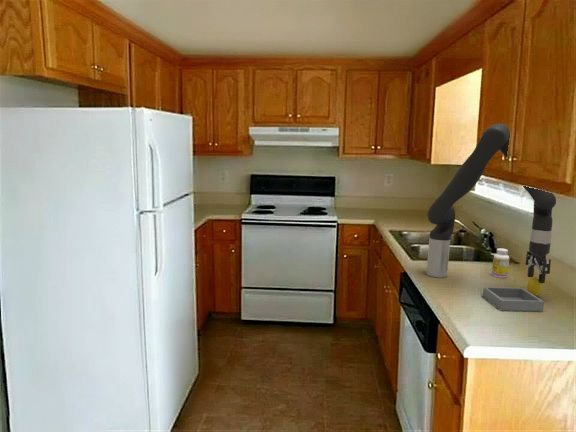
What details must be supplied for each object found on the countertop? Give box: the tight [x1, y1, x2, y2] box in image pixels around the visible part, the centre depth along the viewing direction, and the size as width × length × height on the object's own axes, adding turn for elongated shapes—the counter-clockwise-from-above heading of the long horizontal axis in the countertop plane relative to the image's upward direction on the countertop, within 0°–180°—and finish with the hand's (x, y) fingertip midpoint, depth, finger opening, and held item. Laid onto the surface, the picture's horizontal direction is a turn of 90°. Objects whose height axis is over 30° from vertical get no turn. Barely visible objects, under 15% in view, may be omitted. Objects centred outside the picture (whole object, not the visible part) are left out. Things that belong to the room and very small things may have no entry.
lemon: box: [526, 276, 543, 296], centre depth 198 cm, size 6×6×8 cm
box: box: [481, 286, 545, 313], centre depth 188 cm, size 16×16×4 cm
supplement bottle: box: [491, 247, 510, 279], centre depth 225 cm, size 7×7×13 cm
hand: (535, 279), depth 197 cm, fingers open, 8 cm apart
